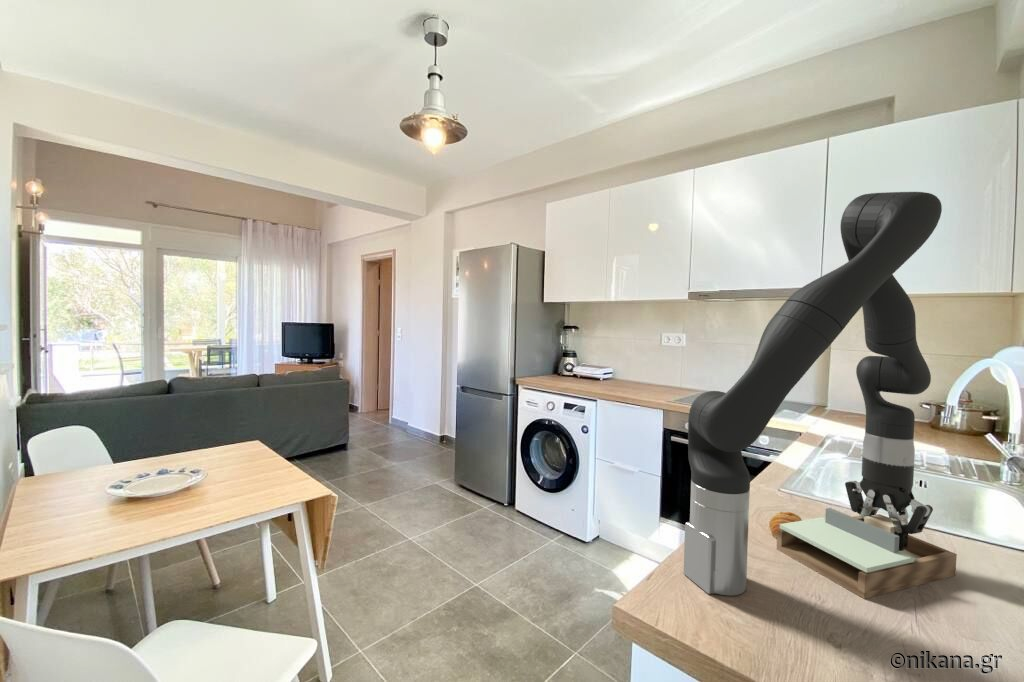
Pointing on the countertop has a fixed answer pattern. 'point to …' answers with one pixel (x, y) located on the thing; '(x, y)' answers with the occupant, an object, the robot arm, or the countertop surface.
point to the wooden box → (924, 569)
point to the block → (880, 522)
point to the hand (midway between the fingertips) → (883, 543)
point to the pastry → (782, 521)
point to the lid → (851, 540)
